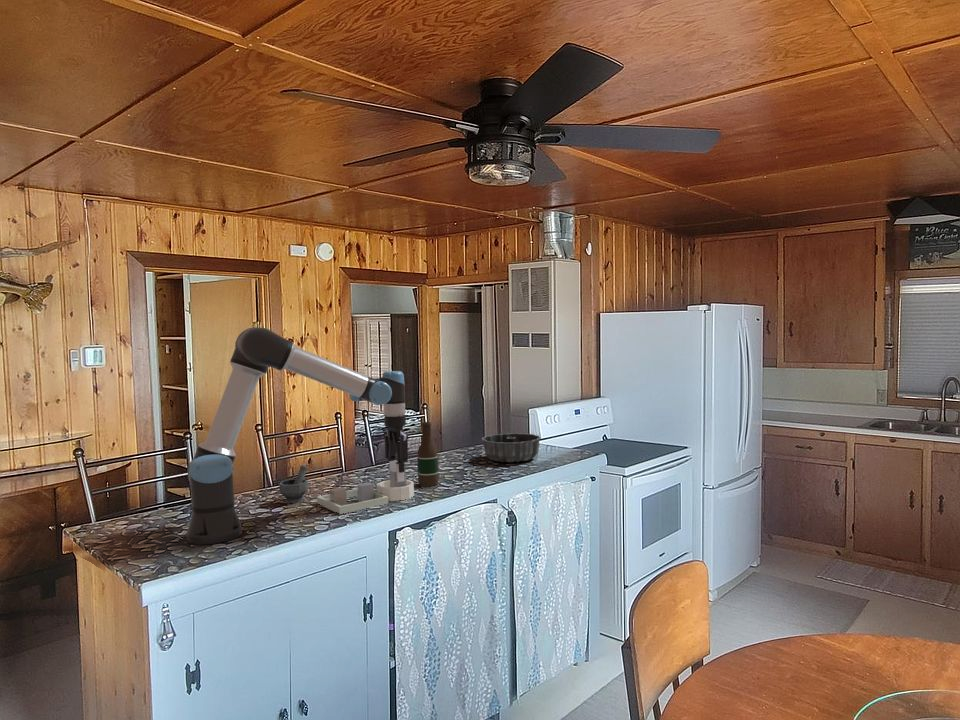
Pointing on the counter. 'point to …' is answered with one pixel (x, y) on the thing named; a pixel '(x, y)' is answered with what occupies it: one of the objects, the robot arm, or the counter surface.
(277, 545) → the counter surface
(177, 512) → the counter surface
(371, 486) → the light grey cuboid
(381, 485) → the bowl
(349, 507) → the square frame
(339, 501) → the taupe block
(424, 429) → the beer bottle
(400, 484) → the grey rectangular block
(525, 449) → the bundt pan
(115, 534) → the counter surface
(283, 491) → the mortar and pestle
